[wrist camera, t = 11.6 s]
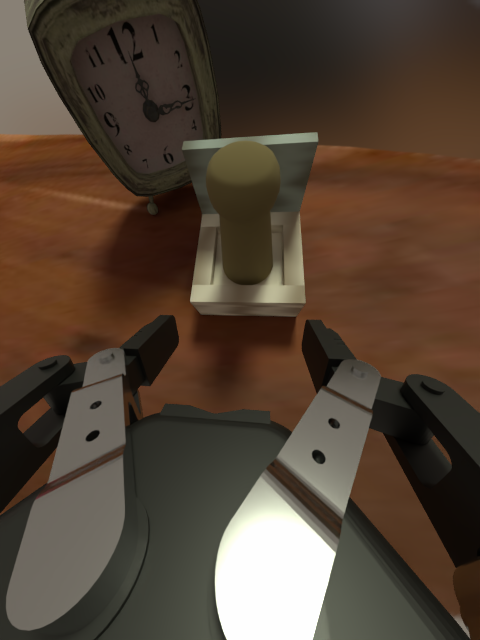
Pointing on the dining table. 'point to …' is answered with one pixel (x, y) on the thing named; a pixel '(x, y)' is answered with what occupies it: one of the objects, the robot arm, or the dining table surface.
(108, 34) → the tabletop clock
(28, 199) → the dining table surface
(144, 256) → the dining table surface
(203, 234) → the stand
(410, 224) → the dining table surface
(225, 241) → the cork
